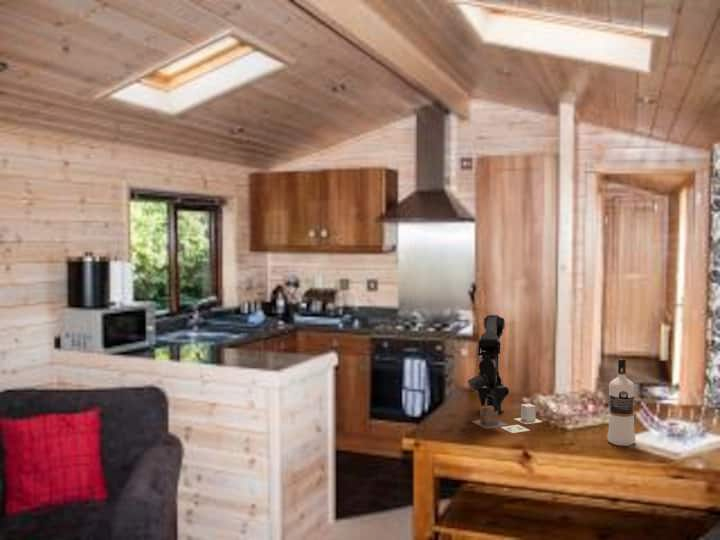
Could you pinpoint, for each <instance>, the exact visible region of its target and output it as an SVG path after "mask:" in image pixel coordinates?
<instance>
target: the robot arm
mask: <svg viewBox="0 0 720 540" xmlns="http://www.w3.org/2000/svg"><path fill="white" fill-rule="evenodd" d="M505 323H506V321H505V318H503V317H500V316H499V315H497V314H487V315H486V317H484V318H483V328H484V329H485V332H484V333H482V334H481V335H480V339H479V340H478V348H477V356H478V357H480V356H481V360H480V362H479V364H478V369H479V372H478V375H477V376H474V377H472V378H470V379H468V380H467V383H468V386H469V388H470V389H472V390H473V391H475V392H476V394H477V395H478V399H479V402H480V405H481V407H484V406H493V407H494V411H495V412H496V411H498V414H501V413H504V412H505V411H504V410H503V409H502V403H503V401H504V399H505V398H506V397H507V396H508V395H509V394H510V389H509V388H508V387H507V386H505V385H504V383H503V380H502V378H501V377H500V372H499V367H500V366H499V363H500V362H499V357H500V356H499V355H501V347H502V346H501V345H502V343H501V342H500V339H501V337H502V336H503V334H504V330H505V329H506V324H505Z"/></svg>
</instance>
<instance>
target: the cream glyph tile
mask: <svg viewBox="0 0 720 540" xmlns="http://www.w3.org/2000/svg"><path fill="white" fill-rule="evenodd" d="M500 428H501V429H503V430H504V431H506V432H507V431H508V432H509V433H511V434H517V433H523V432H529V431H531V430H530V429H528V428H527V427H524V426H523V425H520V424H512V425H506V426H500Z"/></svg>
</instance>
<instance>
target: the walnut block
mask: <svg viewBox="0 0 720 540" xmlns="http://www.w3.org/2000/svg"><path fill="white" fill-rule="evenodd" d="M479 409H480V410H479V411H480V412H479V413H480V416H479V420H480V422H481V423H483V424H485V425H487V426H488V425H495V424H498V421H499V413H498V411H496V412H495V411H494V407H493V406H486V405H484V406H480V407H479Z"/></svg>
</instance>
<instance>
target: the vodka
mask: <svg viewBox="0 0 720 540" xmlns="http://www.w3.org/2000/svg"><path fill="white" fill-rule="evenodd" d="M626 360H627V359H626V358H622V357H621V358H618V359H617V365H618V366H617V376H616V377H615V378H613V379H612V380H611V381H610V382H609V383H608V389H609V390H608V391H609V392H608V394H609V413H608V419H609V420H608V421H609V422H608V432H607V435H606V438H607V441H608V442H609V443H610V444H613V445H615V446H618V447H619V446H620V447H621V446H622V447H630V446H632V445H631V444H633V443H634V441H635V442H636V435H635V424H634V422H635V412H634V411H635V409H634V408H635V389H636V388H635V387H636V386H635V384H634V382H633V381H632V380H630V379H629V378H627V375H626V374H627V361H626ZM634 444H635V443H634ZM634 444H633V445H634ZM629 445H630V446H629Z"/></svg>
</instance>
